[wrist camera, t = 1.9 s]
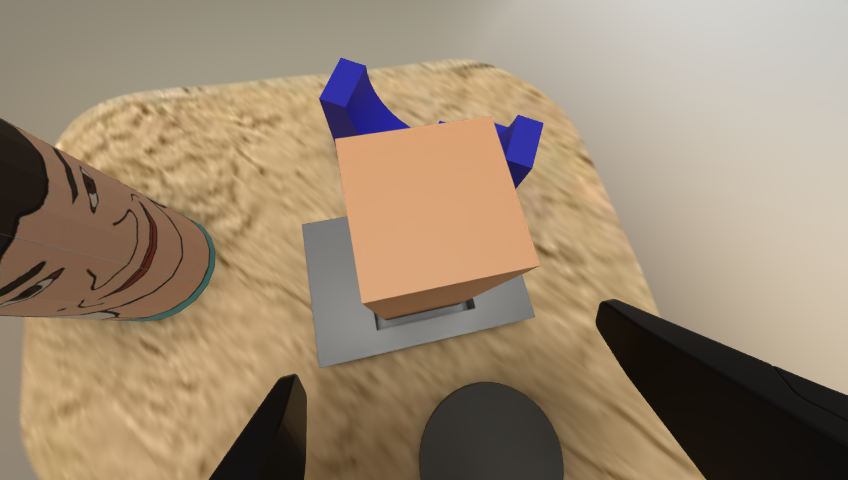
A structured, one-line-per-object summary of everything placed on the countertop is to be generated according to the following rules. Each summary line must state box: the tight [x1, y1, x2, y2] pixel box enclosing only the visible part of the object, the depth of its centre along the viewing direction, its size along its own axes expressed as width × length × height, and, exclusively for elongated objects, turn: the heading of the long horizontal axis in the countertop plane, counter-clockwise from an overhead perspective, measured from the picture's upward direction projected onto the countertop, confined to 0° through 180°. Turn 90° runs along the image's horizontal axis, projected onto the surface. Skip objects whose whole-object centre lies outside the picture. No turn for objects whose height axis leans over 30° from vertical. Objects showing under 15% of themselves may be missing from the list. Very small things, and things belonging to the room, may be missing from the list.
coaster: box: [419, 382, 564, 480], centre depth 17 cm, size 8×8×1 cm
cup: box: [0, 119, 215, 321], centre depth 12 cm, size 7×7×15 cm
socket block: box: [302, 216, 535, 368], centre depth 19 cm, size 8×12×2 cm, turn 103°
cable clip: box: [319, 58, 543, 189], centre depth 20 cm, size 12×4×6 cm, turn 72°
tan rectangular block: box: [335, 116, 540, 320], centre depth 14 cm, size 5×5×12 cm
